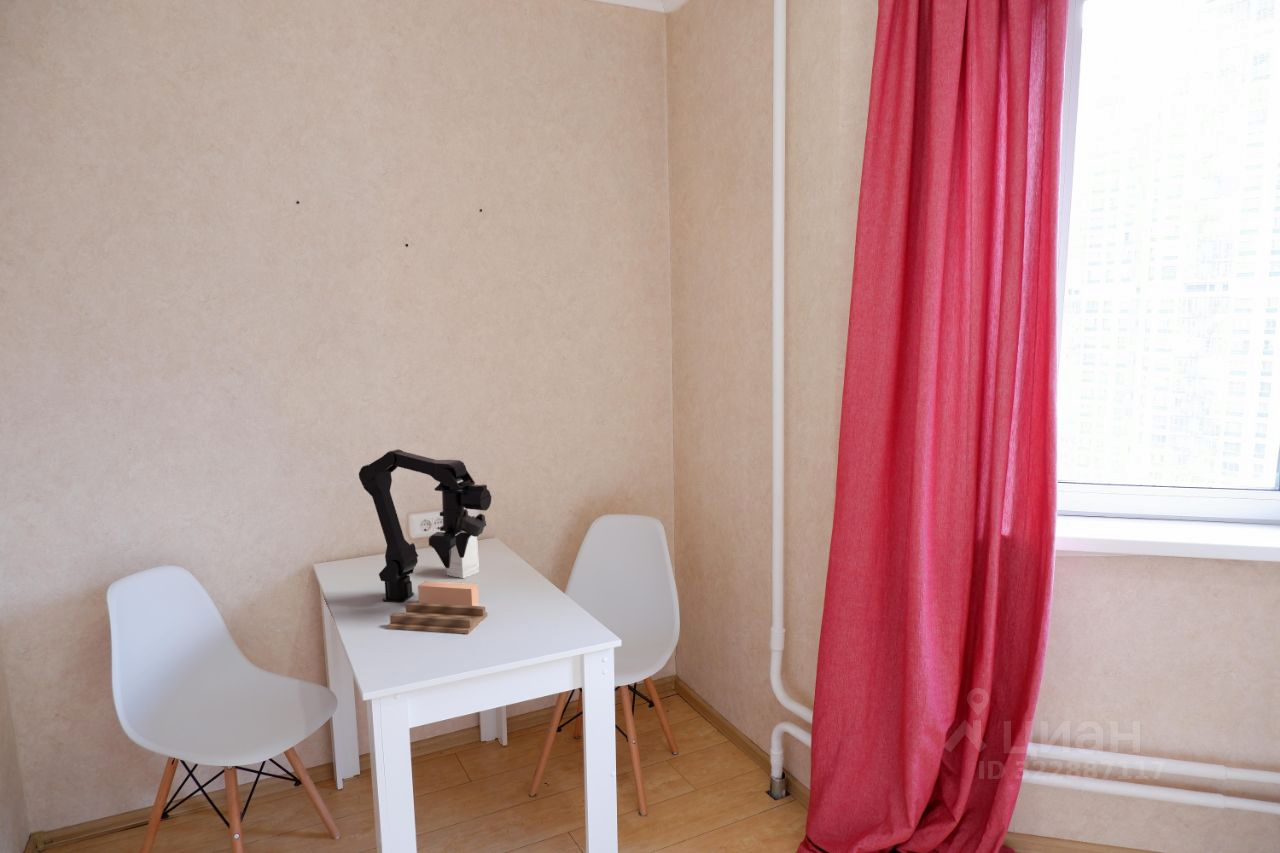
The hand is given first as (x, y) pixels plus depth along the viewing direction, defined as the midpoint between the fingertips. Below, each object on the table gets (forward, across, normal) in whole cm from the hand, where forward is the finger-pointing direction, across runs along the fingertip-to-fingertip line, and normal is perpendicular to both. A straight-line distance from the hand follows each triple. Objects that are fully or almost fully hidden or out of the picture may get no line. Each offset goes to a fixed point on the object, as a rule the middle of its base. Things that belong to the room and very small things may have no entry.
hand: (454, 562), depth 207 cm
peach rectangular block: (+12, -1, +2) cm, 12 cm away
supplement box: (+13, +25, +9) cm, 30 cm away
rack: (+12, -13, -1) cm, 18 cm away
